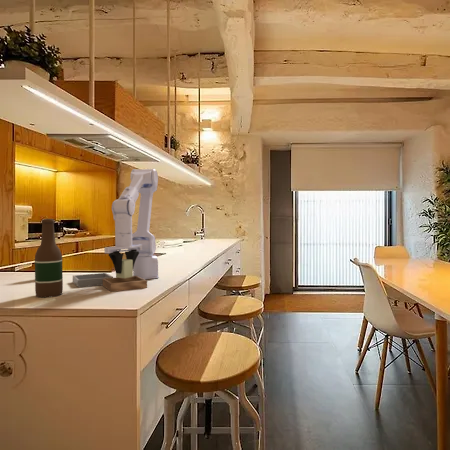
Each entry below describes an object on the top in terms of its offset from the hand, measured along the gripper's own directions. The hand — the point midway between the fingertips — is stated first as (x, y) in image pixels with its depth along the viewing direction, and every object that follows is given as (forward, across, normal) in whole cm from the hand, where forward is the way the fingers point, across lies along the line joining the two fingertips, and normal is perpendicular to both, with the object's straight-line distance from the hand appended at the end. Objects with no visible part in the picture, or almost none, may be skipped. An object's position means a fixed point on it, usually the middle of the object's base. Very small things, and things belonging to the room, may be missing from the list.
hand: (124, 272), depth 129 cm
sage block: (+2, 0, 0) cm, 2 cm away
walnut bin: (+5, 0, 0) cm, 5 cm away
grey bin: (+5, +2, -16) cm, 17 cm away
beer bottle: (+5, +23, -8) cm, 25 cm away
